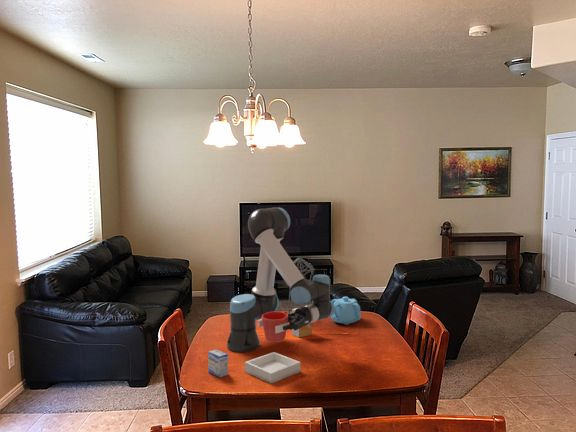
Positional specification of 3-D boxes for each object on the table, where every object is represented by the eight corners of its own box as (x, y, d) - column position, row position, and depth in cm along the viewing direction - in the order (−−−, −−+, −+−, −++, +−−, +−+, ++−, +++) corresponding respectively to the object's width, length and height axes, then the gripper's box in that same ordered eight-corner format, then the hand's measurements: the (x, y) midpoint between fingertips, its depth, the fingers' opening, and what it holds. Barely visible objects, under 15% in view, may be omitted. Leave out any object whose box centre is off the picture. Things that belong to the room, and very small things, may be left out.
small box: (298, 337, 239) (298, 311, 238) (291, 334, 244) (291, 308, 243) (312, 334, 243) (312, 309, 242) (304, 331, 249) (304, 306, 248)
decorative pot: (361, 326, 255) (361, 301, 254) (330, 326, 257) (330, 300, 256) (359, 317, 272) (360, 293, 270) (330, 316, 273) (330, 293, 272)
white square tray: (271, 383, 187) (271, 373, 187) (244, 371, 199) (244, 362, 199) (300, 371, 198) (300, 362, 198) (273, 360, 210) (273, 351, 210)
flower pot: (258, 342, 193) (258, 318, 192) (266, 333, 204) (266, 310, 203) (284, 344, 191) (284, 320, 190) (290, 335, 201) (290, 312, 200)
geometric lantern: (286, 326, 257) (285, 260, 254) (286, 318, 272) (284, 256, 270) (316, 325, 257) (315, 259, 255) (314, 317, 273) (313, 255, 270)
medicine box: (207, 372, 199) (207, 351, 198) (216, 369, 202) (216, 348, 201) (219, 377, 193) (219, 356, 192) (228, 374, 196) (228, 353, 195)
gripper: (325, 329, 202) (286, 343, 186) (287, 317, 217) (249, 329, 202) (325, 311, 201) (286, 323, 185) (287, 301, 217) (248, 311, 201)
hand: (267, 326), depth 194 cm, fingers closed on flower pot, 10 cm apart
